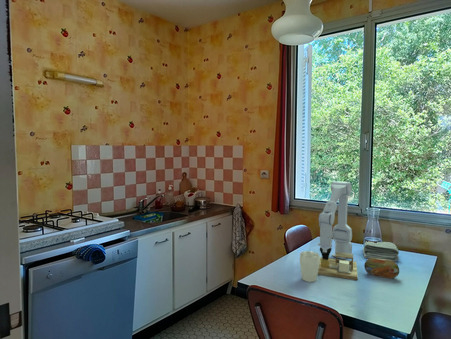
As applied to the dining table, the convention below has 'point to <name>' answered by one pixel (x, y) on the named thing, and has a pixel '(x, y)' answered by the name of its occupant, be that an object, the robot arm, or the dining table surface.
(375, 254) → the towel
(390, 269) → the tin
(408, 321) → the dining table surface
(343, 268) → the block
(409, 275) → the dining table surface
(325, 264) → the slider
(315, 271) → the cup
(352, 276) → the board tunnel
